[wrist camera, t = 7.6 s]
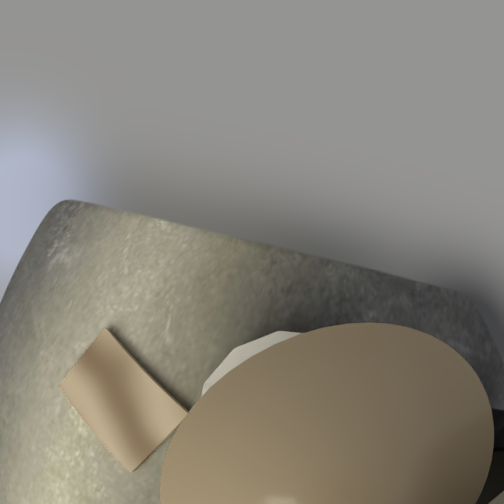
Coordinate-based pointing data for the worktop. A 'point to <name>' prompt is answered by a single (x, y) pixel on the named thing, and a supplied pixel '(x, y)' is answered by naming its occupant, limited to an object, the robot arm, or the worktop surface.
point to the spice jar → (337, 425)
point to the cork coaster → (121, 401)
